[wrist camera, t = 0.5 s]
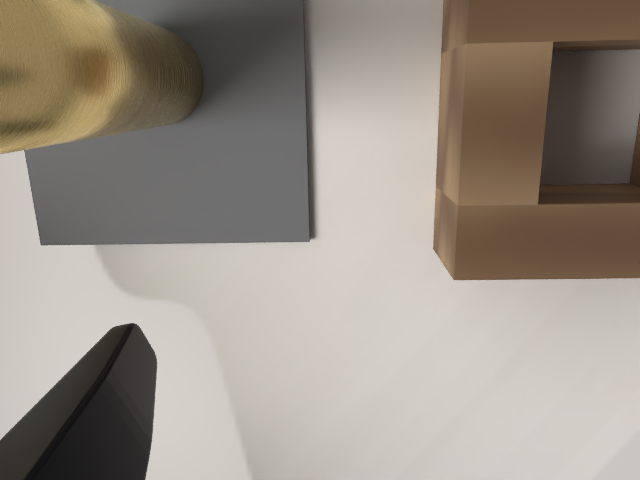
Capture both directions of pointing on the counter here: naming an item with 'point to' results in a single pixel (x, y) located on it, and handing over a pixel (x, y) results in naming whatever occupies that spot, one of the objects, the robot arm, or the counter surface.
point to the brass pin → (88, 73)
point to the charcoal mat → (195, 142)
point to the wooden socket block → (524, 146)
